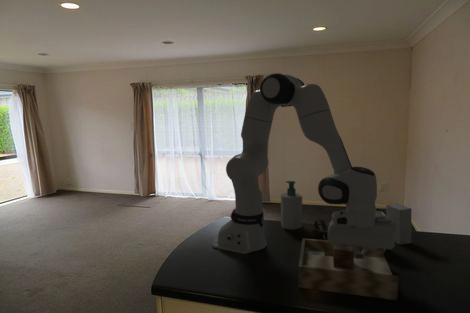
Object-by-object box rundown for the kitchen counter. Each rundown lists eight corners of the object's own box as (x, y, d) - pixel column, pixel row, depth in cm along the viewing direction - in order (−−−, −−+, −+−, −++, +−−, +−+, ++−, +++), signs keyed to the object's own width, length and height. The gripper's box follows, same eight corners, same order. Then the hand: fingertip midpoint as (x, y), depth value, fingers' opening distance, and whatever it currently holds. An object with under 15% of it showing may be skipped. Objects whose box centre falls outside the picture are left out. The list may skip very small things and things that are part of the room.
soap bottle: (292, 221, 153) (292, 178, 150) (305, 226, 146) (306, 181, 143) (276, 225, 148) (276, 181, 145) (289, 231, 140) (290, 184, 137)
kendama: (330, 230, 142) (337, 247, 122) (309, 230, 144) (313, 247, 124) (330, 218, 141) (337, 233, 122) (309, 217, 143) (313, 232, 123)
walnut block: (333, 267, 99) (334, 252, 98) (333, 258, 105) (333, 244, 104) (353, 269, 97) (353, 254, 97) (351, 260, 103) (352, 246, 102)
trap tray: (298, 287, 95) (298, 266, 94) (302, 255, 116) (302, 238, 115) (397, 300, 87) (398, 277, 86) (382, 264, 108) (383, 245, 107)
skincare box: (411, 243, 125) (413, 208, 123) (398, 245, 123) (400, 210, 121) (396, 235, 133) (398, 203, 131) (384, 237, 131) (386, 204, 129)
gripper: (393, 216, 98) (391, 257, 100) (327, 212, 103) (326, 250, 105) (398, 223, 92) (396, 266, 94) (328, 218, 97) (327, 259, 99)
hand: (359, 258), depth 99 cm, fingers closed
